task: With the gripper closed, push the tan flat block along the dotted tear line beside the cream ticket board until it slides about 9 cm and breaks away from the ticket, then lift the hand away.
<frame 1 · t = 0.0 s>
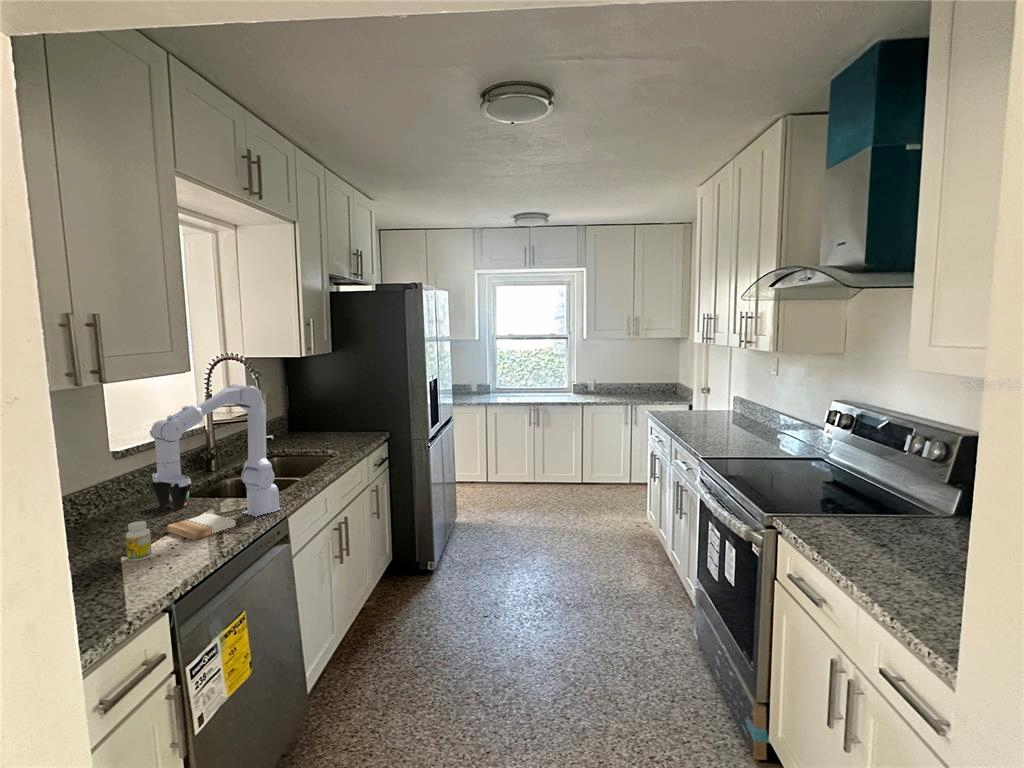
hand: (171, 507, 153), 10 cm above the worktop, tool pointing down, fingers open, 7 cm apart
ticket board: (210, 526, 166), on the worktop
supplement bottle: (139, 558, 143), on the worktop
food container: (181, 505, 187), on the worktop
tan flat block: (189, 529, 160), point 1 cm above the worktop, slide at 0.0 cm
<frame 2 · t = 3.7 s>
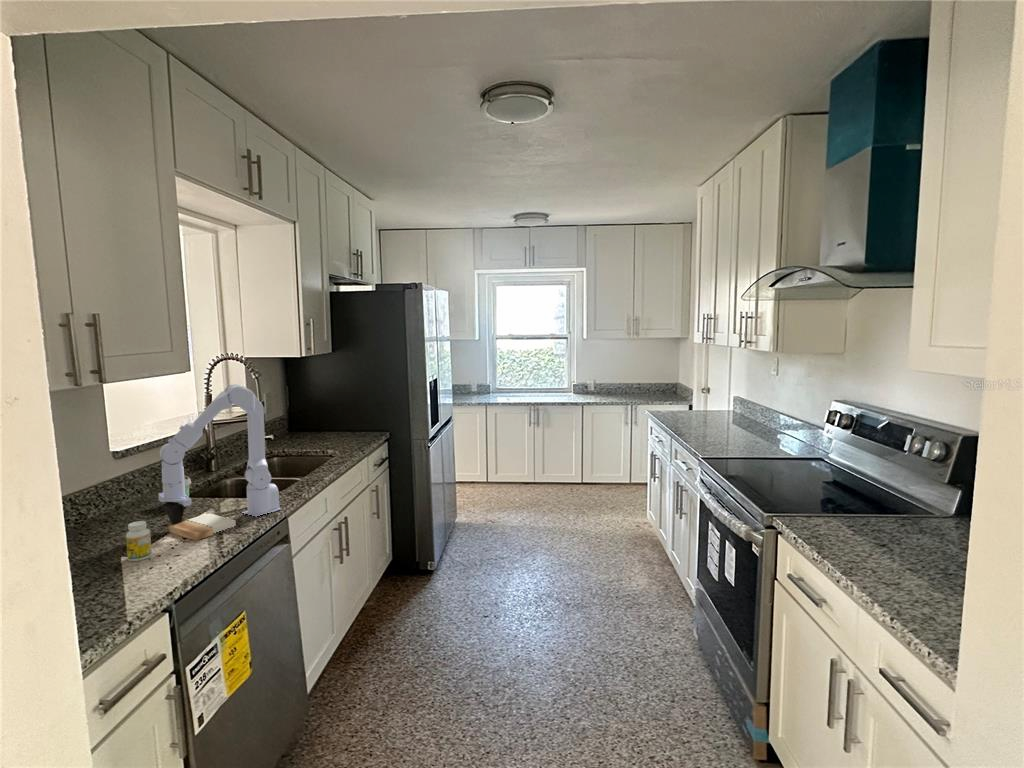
hand: (176, 525, 163), 1 cm above the worktop, tool pointing down, fingers closed
tan flat block: (191, 530, 160), point 1 cm above the worktop, slide at 0.9 cm, touching gripper
everything else where it was.
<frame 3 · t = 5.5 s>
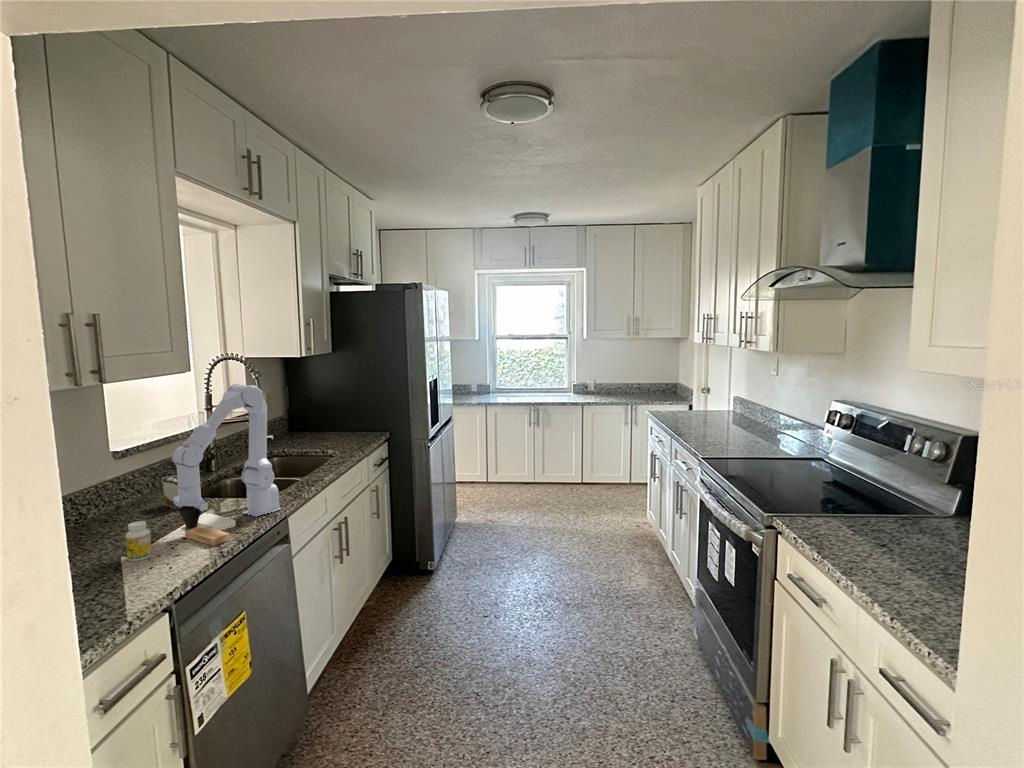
hand: (192, 529, 159), 1 cm above the worktop, tool pointing down, fingers closed
tan flat block: (207, 535, 156), point 1 cm above the worktop, slide at 9.2 cm, touching gripper
everything else where it was.
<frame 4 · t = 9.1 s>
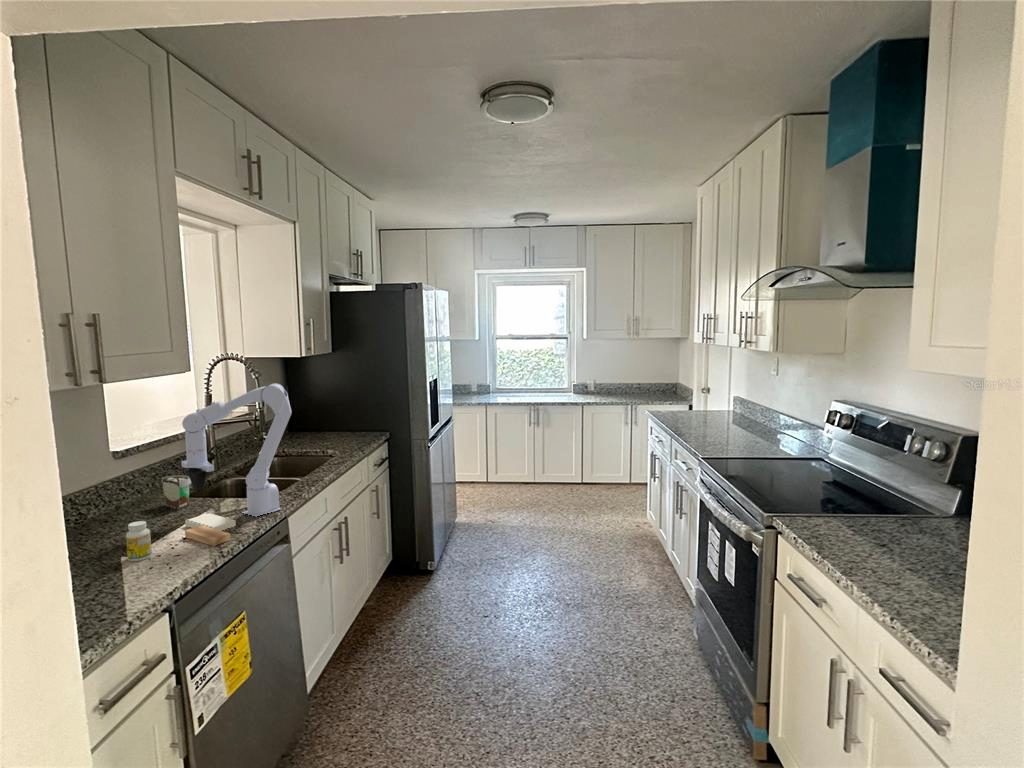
hand: (198, 490, 172), 9 cm above the worktop, tool pointing down, fingers closed
tan flat block: (207, 535, 156), point 1 cm above the worktop, slide at 9.3 cm
everything else where it was.
at the end: tan flat block slide at 9.3 cm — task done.
